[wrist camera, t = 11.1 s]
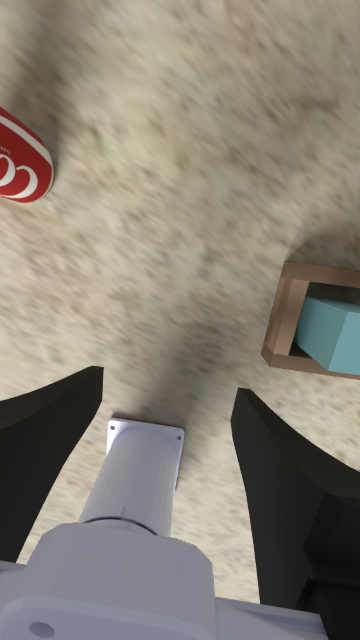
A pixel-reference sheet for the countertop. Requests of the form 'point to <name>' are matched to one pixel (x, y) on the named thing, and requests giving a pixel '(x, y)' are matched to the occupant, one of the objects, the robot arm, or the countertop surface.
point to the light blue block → (330, 333)
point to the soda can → (23, 162)
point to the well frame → (288, 312)
